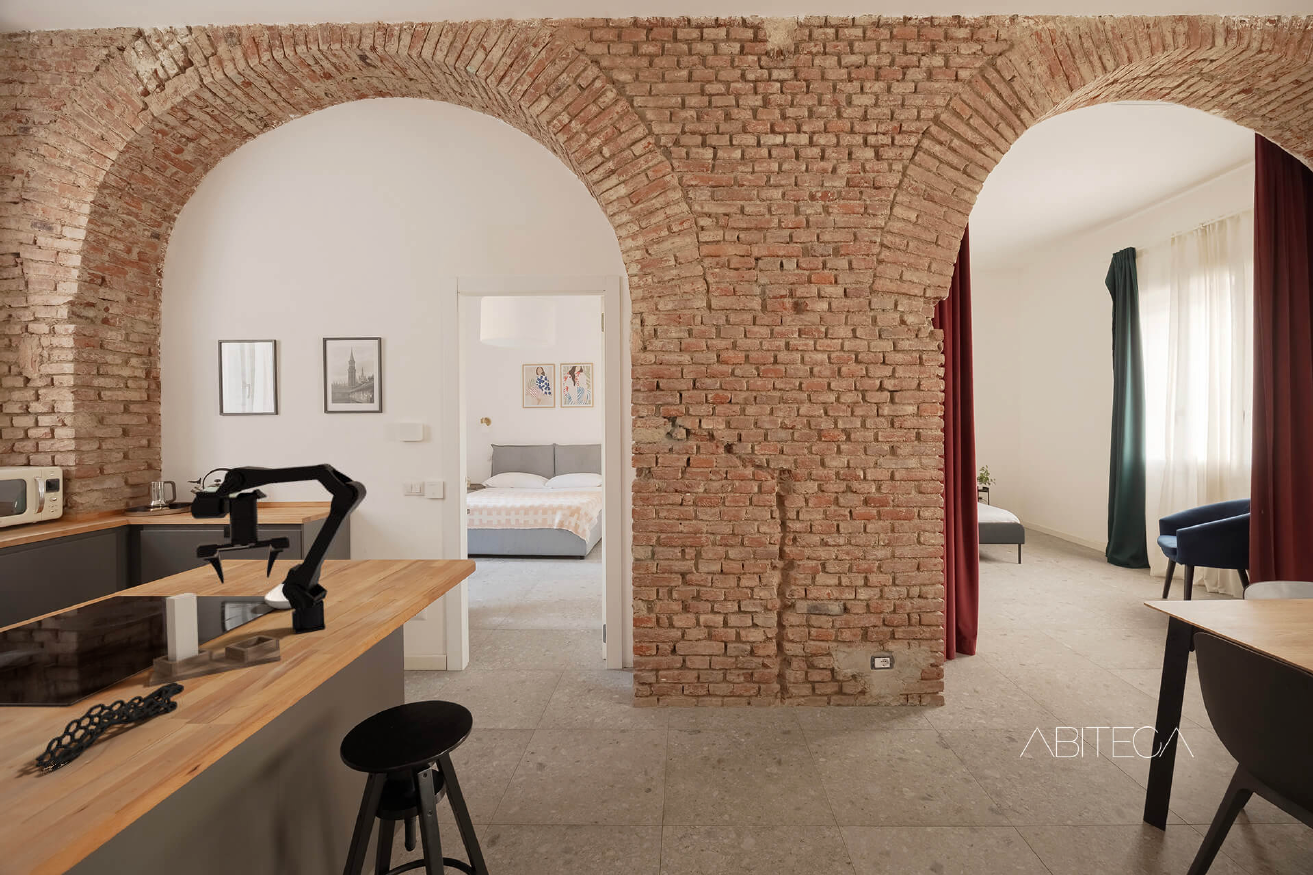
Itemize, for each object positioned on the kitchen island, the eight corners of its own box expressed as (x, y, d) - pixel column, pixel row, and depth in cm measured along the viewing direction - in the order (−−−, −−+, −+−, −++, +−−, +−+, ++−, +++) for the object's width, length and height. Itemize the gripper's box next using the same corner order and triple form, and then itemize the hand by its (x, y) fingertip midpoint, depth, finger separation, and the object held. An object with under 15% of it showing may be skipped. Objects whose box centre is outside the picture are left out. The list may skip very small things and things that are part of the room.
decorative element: (60, 775, 89) (59, 735, 89) (29, 773, 90) (28, 734, 90) (190, 704, 112) (190, 673, 112) (165, 703, 112) (165, 671, 112)
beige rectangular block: (190, 662, 128) (187, 592, 128) (198, 664, 127) (196, 593, 127) (168, 669, 125) (166, 597, 124) (177, 671, 123) (174, 599, 123)
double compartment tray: (278, 646, 140) (278, 631, 139) (280, 660, 131) (280, 644, 131) (156, 669, 127) (155, 652, 127) (149, 686, 119) (149, 668, 119)
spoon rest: (307, 610, 167) (307, 584, 167) (258, 615, 163) (258, 589, 163) (325, 588, 190) (324, 565, 189) (282, 592, 186) (282, 569, 186)
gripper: (286, 510, 160) (287, 568, 161) (198, 517, 150) (200, 579, 150) (288, 515, 151) (290, 576, 152) (195, 523, 141) (197, 589, 141)
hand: (245, 580), depth 149 cm, fingers open, 9 cm apart
